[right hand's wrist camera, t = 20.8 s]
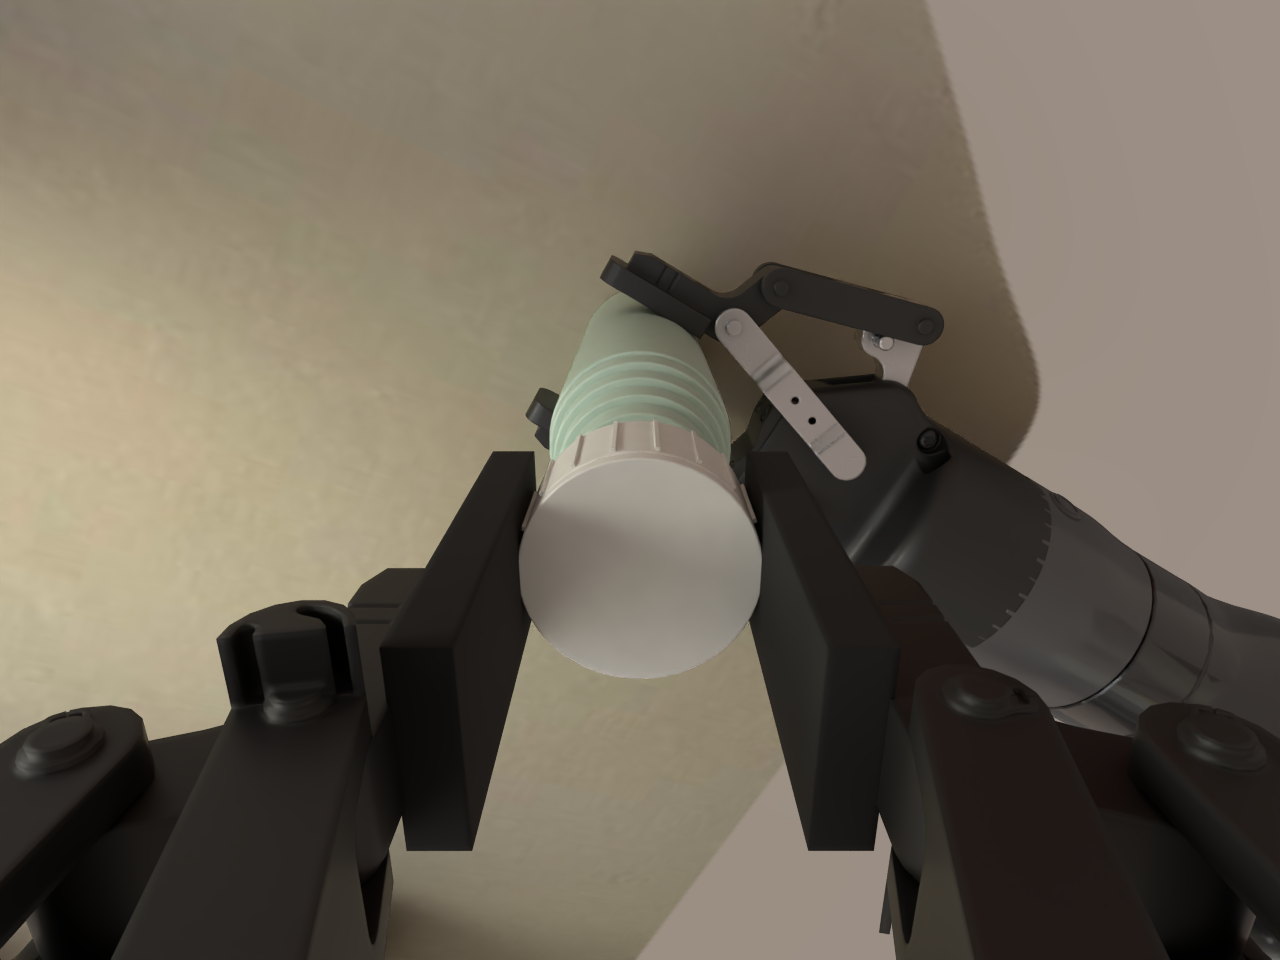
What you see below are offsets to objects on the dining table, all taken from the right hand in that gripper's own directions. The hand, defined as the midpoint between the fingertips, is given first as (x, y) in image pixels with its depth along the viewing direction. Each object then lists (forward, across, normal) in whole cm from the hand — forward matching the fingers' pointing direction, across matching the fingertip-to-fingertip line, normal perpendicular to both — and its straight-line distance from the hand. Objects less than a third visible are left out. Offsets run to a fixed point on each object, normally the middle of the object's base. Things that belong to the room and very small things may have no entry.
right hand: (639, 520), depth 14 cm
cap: (-2, 0, 0) cm, 2 cm away
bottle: (+19, 0, 0) cm, 19 cm away
